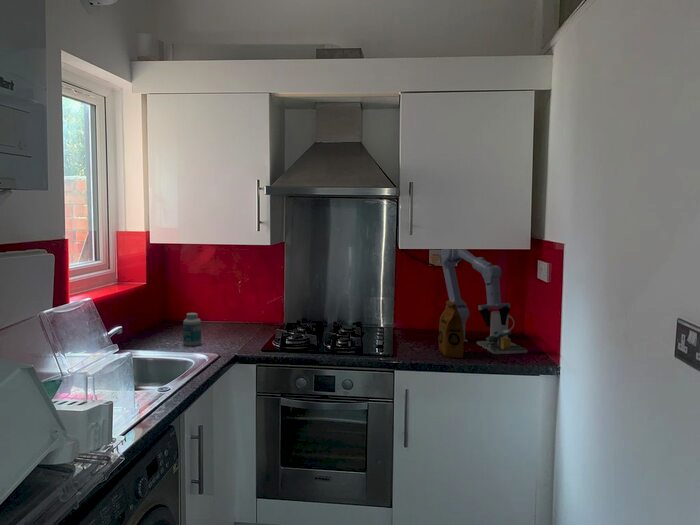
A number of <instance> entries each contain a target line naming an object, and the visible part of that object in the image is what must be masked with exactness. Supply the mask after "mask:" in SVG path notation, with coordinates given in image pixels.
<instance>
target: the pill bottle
mask: <svg viewBox="0 0 700 525" xmlns="http://www.w3.org/2000/svg"><path fill="white" fill-rule="evenodd" d="M198 317H199V315H198V313H197V312H187V313H186V316H185V319H184V320H182V321H183V322H182V325H183V326H182V327H183V330H182V332H183V338H182V340H183V345H184V346H186V347H187V346H188V347H196V346H199V345H201V344H202V319H200V318H198Z"/></svg>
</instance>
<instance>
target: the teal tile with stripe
mask: <svg viewBox="0 0 700 525" xmlns="http://www.w3.org/2000/svg"><path fill="white" fill-rule="evenodd" d="M499 334H503V337H504V336H506V335H508V336H509V335H511V334H512V330H510V331H509V330H504V331H502V332H499V333H497V334H494V335H492V336H496V337H497V339H498V340H499ZM485 341H489V336H488V337H485Z"/></svg>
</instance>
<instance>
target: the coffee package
mask: <svg viewBox="0 0 700 525" xmlns="http://www.w3.org/2000/svg"><path fill="white" fill-rule="evenodd" d="M445 304H446V305H447V307H446V306H445V309H444V310H443V312H441V315H440V317H439V327H438V337H437V340H438V341H437V342H438V350H439V351H440V353H442V355H443V356H445V358H447V359H448V358H451V359H455V358H456V359H458V358H460V359H463V358H464V346H465V345H464V344H465V343H464V331H463V326H462V320H461V317H460V315H459V312H458V309H457V307H456V304H455V303H454V302H452V301H449V299H448V300H446V301H445Z"/></svg>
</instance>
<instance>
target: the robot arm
mask: <svg viewBox="0 0 700 525" xmlns="http://www.w3.org/2000/svg"><path fill="white" fill-rule="evenodd" d="M440 257H441V258H440V259H441V262H442V263H441V266H442V270H443V271H442V272H443V275H444V279H445V280H444V281H445V285H446V286H445V287H446V290H447V297H448V300H449V301H452V302H454V303H455V304H456V307H457V309H458V312H459V315H460V317H461V320H462V326H463V331H464V342H469V340H468V339H466V322H467V320H468V319H469V317H470V310H469V308H468V305H467V303H466V302H465V301H464V300H463V299H462V297H461V291H460V287H459V281H458V277H457V272H456V266H457V264H458V263H459V262H461V261H462V260H464V261H466V262H467V263H470V264H471V266H472V269H474V270H475V271H476V272H479V274H481V275H482V276H481V277H482V278H483V280H484V283H485V290H486V293H485V294H486V301H487V302H486V304H481V305H477V308H478V311H479V313H480V315H481V316H482V318H483V321H484V323H485V327H487V328H490V327H491V312H492V311H491V310H493V309H494V310H497V309H498V310H497V311H499V313H500V318H501V325H506V319H507V316H508V313H509V314H510V311H511V302H504V303H503V302H502V299H501V286H500V284H501V282H500V278H501V277H502V273H503V272H502V268H501V267H500V265H496V264H495V265H493V264H492V262H489V261H488V260H485V258H484V257H483V256H479V257H477V256H475V255H474V254H472V253H471V252H470V251H468V250H467V248H466V249H442V248H441V251H440ZM446 307H447V304H446V305H445V308H446Z"/></svg>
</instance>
